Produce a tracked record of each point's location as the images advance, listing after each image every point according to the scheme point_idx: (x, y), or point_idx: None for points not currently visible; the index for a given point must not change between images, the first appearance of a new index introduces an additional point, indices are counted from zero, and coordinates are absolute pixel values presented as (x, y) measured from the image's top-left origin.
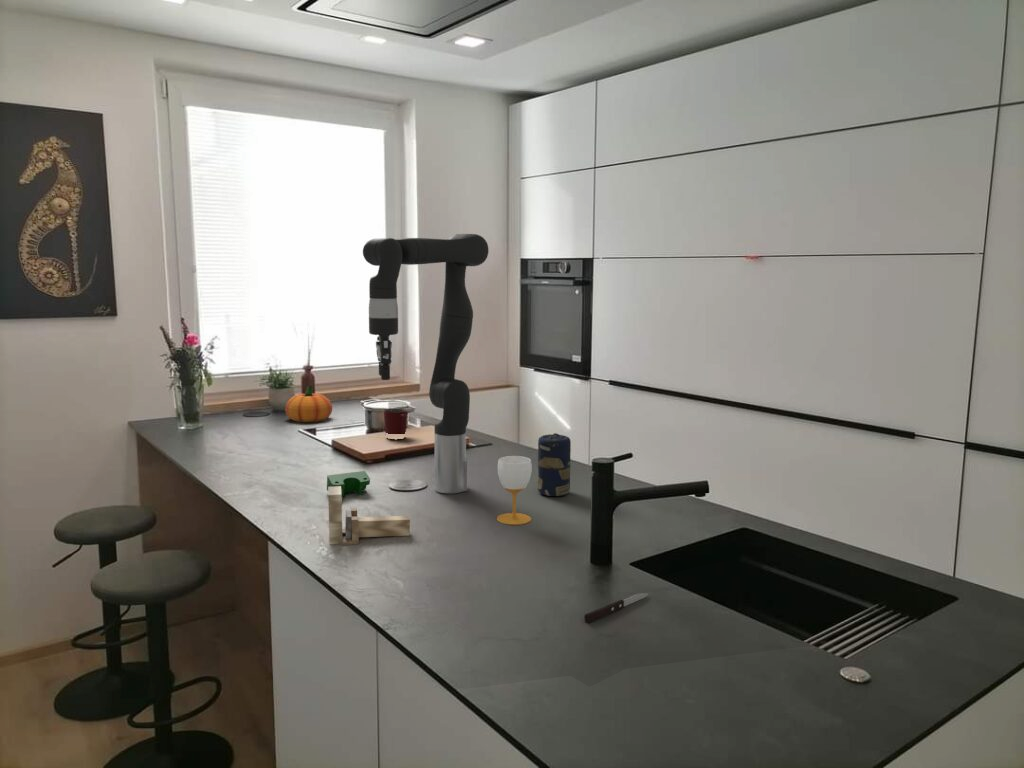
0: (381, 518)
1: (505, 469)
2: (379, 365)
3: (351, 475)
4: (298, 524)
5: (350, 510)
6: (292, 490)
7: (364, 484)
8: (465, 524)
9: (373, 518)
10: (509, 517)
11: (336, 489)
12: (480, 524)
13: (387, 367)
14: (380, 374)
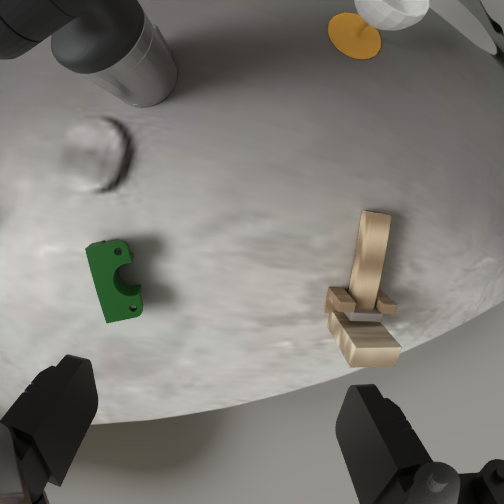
0: (374, 261)
1: (416, 21)
2: (68, 460)
3: (104, 278)
4: (265, 362)
5: (353, 313)
6: (90, 352)
7: (129, 252)
8: (358, 110)
9: (370, 274)
10: (350, 38)
11: (372, 354)
12: (365, 89)
13: (425, 463)
14: (94, 403)
